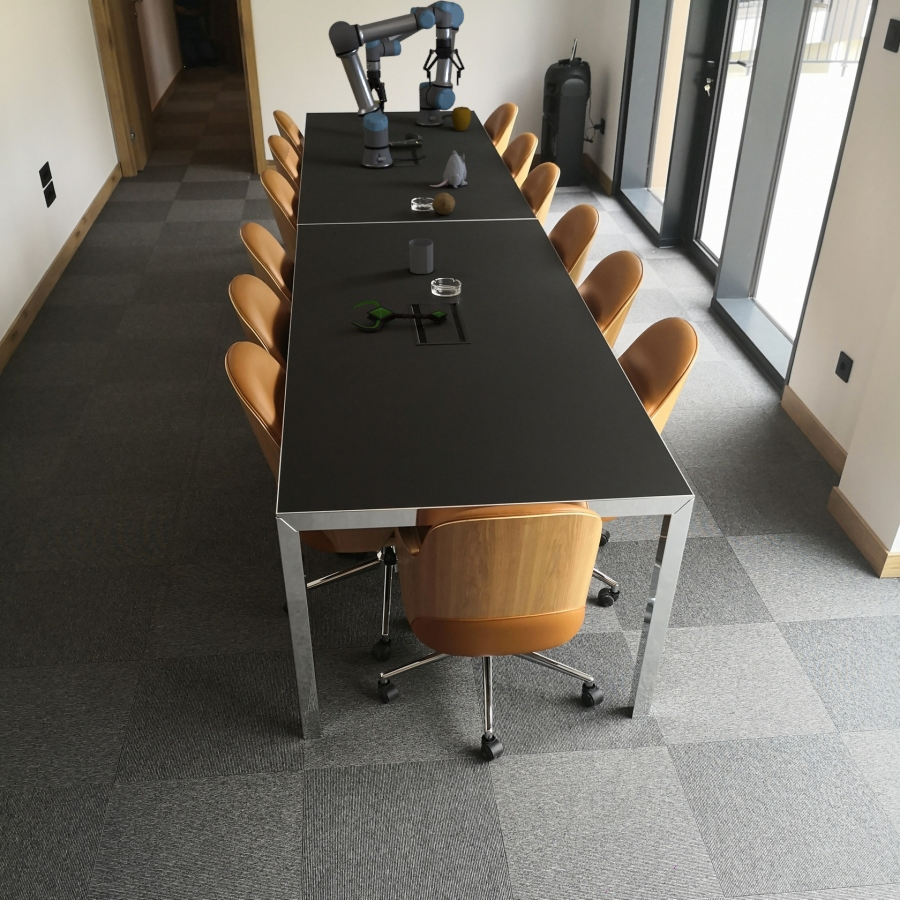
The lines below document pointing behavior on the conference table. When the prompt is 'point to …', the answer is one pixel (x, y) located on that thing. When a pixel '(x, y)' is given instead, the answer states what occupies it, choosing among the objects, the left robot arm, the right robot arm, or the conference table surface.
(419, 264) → the cup
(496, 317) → the conference table surface
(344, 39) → the left robot arm
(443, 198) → the potato
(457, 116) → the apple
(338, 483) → the conference table surface
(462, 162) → the toy
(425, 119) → the right robot arm
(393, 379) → the conference table surface
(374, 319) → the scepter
